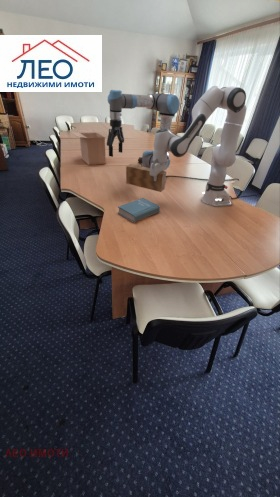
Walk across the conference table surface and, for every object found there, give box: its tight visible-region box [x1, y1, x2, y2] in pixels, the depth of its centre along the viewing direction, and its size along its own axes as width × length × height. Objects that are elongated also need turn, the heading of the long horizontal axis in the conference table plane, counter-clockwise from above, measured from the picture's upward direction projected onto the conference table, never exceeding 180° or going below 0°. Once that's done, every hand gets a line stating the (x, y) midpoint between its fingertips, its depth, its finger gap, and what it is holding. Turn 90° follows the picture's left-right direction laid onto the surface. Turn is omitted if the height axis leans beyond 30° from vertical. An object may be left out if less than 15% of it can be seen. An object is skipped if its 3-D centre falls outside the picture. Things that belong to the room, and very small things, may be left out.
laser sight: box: [137, 156, 142, 165], centre depth 237 cm, size 10×22×10 cm, turn 78°
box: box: [70, 129, 109, 166], centre depth 229 cm, size 44×36×27 cm
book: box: [117, 197, 161, 223], centre depth 145 cm, size 23×16×5 cm
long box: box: [125, 163, 167, 193], centre depth 153 cm, size 28×6×12 cm, turn 61°
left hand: (115, 154), depth 154 cm, fingers open, 13 cm apart
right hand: (157, 179), depth 149 cm, fingers closed on long box, 6 cm apart
